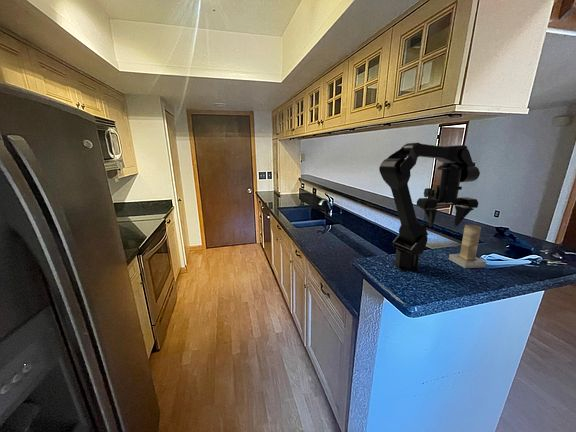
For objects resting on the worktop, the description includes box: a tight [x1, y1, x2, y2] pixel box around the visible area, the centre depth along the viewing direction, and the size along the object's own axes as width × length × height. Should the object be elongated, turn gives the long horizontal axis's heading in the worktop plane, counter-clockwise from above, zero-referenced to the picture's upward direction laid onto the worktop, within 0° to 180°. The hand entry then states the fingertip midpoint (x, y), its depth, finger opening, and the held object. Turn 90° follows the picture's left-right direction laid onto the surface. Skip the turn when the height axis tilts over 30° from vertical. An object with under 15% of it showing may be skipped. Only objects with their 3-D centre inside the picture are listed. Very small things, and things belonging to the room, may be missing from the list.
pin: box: [459, 224, 482, 261], centre depth 85 cm, size 3×3×14 cm
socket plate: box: [448, 253, 487, 269], centre depth 86 cm, size 8×8×2 cm
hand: (443, 226), depth 87 cm, fingers open, 9 cm apart
